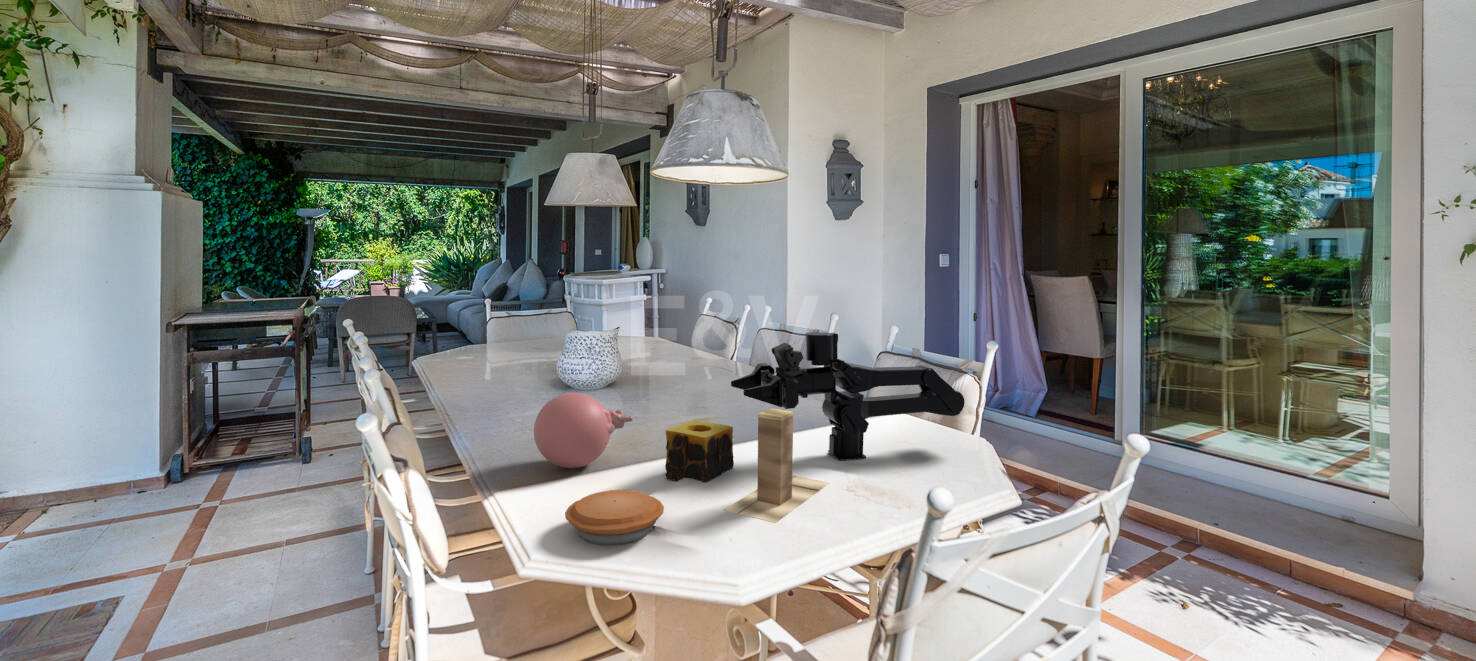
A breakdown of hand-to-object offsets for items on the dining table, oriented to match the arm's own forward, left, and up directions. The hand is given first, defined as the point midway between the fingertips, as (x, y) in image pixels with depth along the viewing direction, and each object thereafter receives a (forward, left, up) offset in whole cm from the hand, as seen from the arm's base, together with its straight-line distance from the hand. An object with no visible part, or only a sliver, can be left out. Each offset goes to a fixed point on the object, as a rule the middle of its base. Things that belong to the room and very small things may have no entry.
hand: (737, 388), depth 138 cm
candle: (+9, +5, -17) cm, 20 cm away
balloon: (+31, -7, -17) cm, 36 cm away
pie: (+27, +27, -17) cm, 42 cm away
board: (-3, +22, -16) cm, 27 cm away
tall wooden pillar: (-1, +23, -15) cm, 28 cm away
